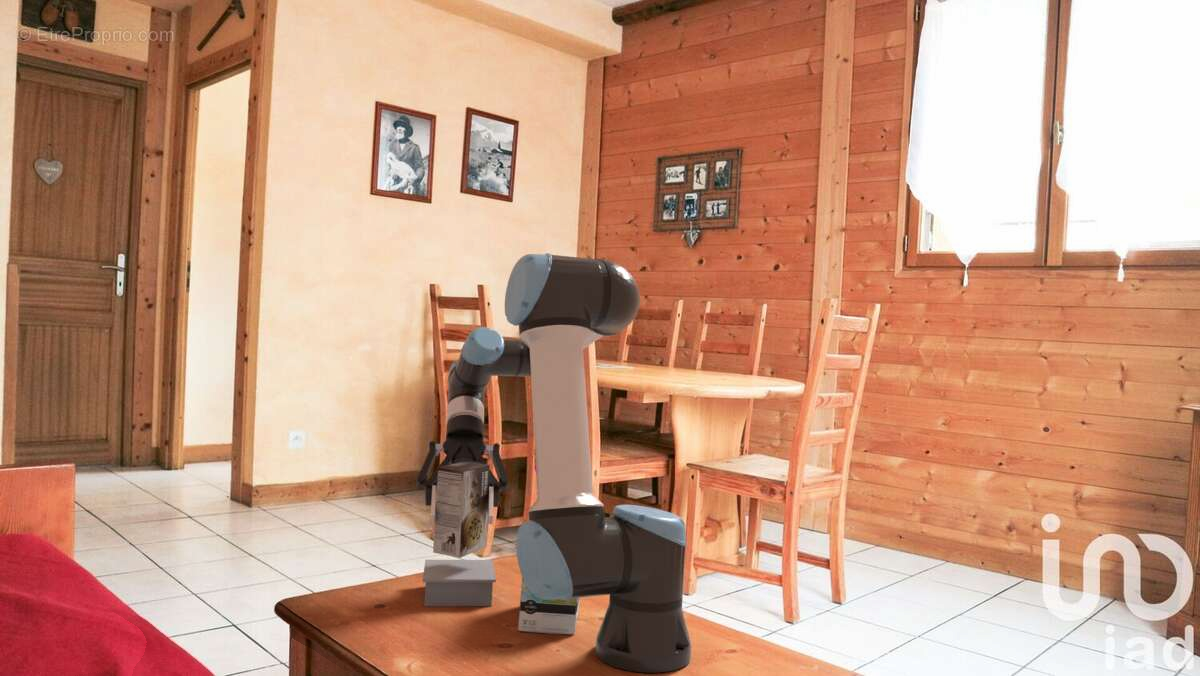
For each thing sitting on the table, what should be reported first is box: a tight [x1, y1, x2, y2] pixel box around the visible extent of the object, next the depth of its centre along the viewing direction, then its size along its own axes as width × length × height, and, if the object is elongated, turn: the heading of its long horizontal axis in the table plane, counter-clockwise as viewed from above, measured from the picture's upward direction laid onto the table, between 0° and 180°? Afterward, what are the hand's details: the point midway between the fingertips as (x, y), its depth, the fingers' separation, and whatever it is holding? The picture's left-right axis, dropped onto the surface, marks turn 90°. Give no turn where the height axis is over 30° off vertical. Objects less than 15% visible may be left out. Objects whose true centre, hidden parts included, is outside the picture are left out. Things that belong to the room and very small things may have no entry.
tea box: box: [517, 576, 581, 635], centre depth 152 cm, size 15×10×15 cm, turn 179°
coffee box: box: [432, 461, 491, 559], centre depth 162 cm, size 9×6×16 cm
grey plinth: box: [422, 559, 497, 607], centre depth 162 cm, size 13×13×5 cm
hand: (461, 519), depth 159 cm, fingers closed on coffee box, 10 cm apart
